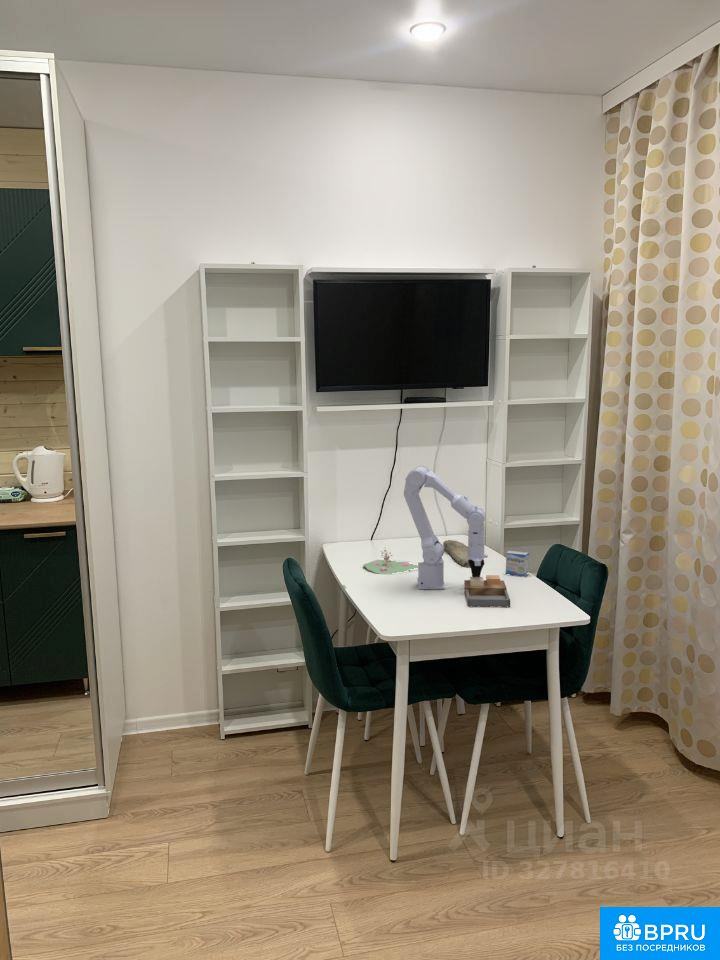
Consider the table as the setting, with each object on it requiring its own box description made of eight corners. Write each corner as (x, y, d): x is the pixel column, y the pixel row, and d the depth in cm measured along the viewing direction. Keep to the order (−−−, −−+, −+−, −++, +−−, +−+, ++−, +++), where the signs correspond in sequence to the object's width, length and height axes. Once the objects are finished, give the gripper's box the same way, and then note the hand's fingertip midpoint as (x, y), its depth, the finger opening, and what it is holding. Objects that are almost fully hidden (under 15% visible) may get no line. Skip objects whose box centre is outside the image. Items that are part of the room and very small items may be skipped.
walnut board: (465, 596, 260) (465, 587, 260) (464, 588, 269) (464, 580, 268) (506, 596, 259) (506, 588, 258) (503, 588, 268) (503, 580, 267)
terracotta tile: (487, 584, 263) (487, 578, 263) (486, 580, 268) (486, 575, 267) (500, 584, 263) (500, 579, 262) (498, 580, 267) (498, 575, 267)
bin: (467, 606, 249) (467, 599, 249) (465, 596, 260) (465, 589, 260) (510, 607, 248) (510, 599, 248) (506, 596, 259) (506, 589, 259)
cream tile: (470, 586, 261) (470, 580, 261) (469, 582, 266) (469, 576, 265) (483, 586, 261) (483, 580, 261) (482, 582, 265) (482, 576, 265)
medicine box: (505, 574, 285) (505, 552, 283) (508, 571, 289) (509, 549, 287) (525, 577, 281) (526, 554, 280) (528, 574, 285) (529, 552, 284)
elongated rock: (458, 572, 294) (482, 572, 296) (458, 559, 293) (483, 559, 294) (438, 545, 328) (460, 545, 329) (439, 534, 327) (461, 534, 328)
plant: (418, 559, 310) (418, 538, 308) (432, 573, 290) (432, 550, 288) (359, 563, 306) (359, 541, 304) (368, 577, 286) (368, 554, 284)
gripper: (489, 548, 257) (489, 586, 259) (485, 538, 271) (485, 574, 273) (469, 548, 257) (468, 586, 260) (466, 538, 272) (466, 574, 274)
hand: (475, 580), depth 267 cm, fingers closed
